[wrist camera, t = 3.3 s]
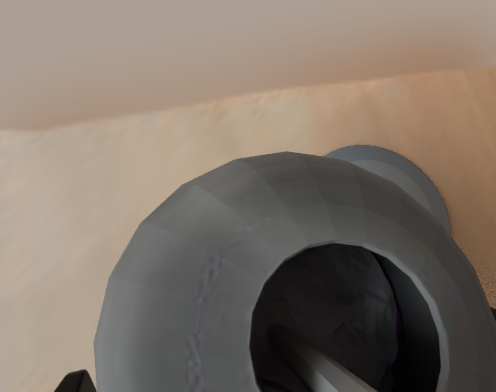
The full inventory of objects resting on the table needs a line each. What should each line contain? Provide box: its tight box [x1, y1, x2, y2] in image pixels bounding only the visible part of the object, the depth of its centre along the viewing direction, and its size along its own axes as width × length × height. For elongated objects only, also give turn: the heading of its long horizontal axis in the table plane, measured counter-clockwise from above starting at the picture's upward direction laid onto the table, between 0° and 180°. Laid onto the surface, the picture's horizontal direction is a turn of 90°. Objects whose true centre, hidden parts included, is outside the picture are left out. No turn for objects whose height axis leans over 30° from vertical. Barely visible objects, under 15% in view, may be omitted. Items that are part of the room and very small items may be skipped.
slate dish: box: [324, 145, 450, 234], centre depth 20 cm, size 9×9×1 cm
